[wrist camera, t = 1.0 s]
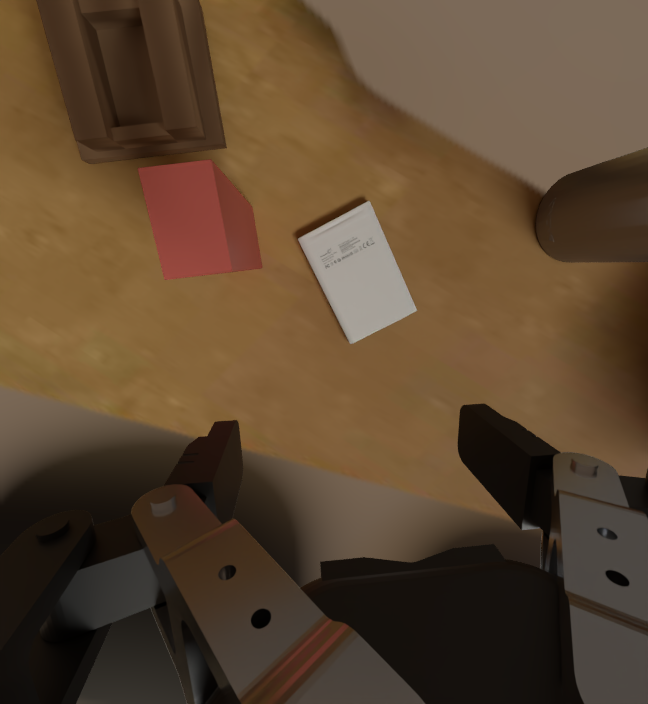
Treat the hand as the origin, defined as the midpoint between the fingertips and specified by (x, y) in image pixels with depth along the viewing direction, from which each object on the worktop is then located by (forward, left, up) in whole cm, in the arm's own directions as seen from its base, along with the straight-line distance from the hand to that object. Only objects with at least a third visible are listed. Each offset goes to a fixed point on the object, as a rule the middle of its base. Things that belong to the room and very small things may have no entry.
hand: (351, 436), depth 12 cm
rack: (+13, -23, -26) cm, 37 cm away
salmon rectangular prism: (+7, -9, -26) cm, 29 cm away
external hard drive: (-5, -4, -27) cm, 28 cm away
